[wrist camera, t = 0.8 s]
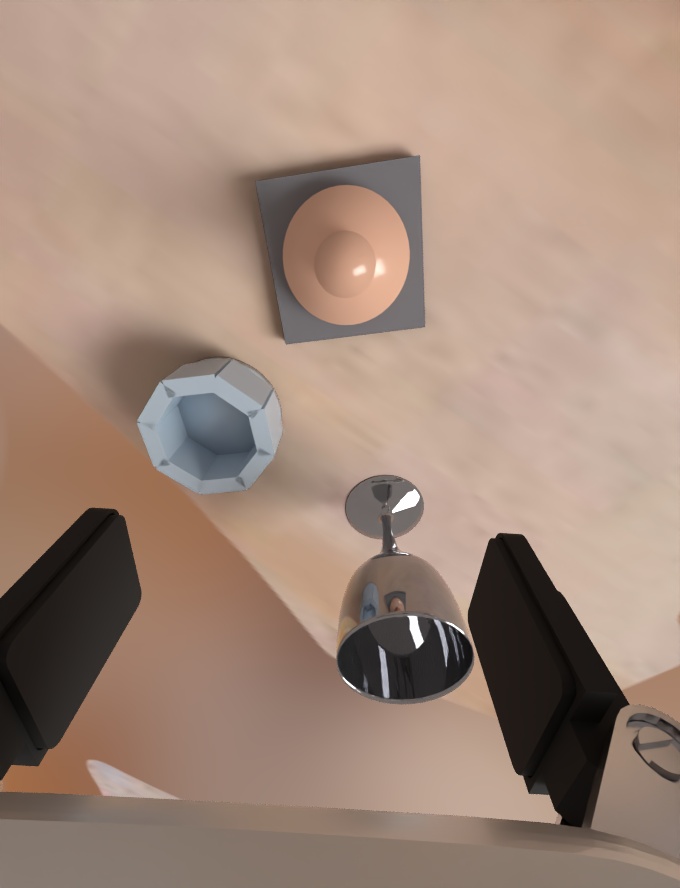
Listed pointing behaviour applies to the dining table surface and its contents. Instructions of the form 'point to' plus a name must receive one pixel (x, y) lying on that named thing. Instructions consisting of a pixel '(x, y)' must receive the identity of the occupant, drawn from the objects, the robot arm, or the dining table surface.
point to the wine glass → (398, 607)
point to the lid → (346, 255)
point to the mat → (387, 180)
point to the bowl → (212, 425)
